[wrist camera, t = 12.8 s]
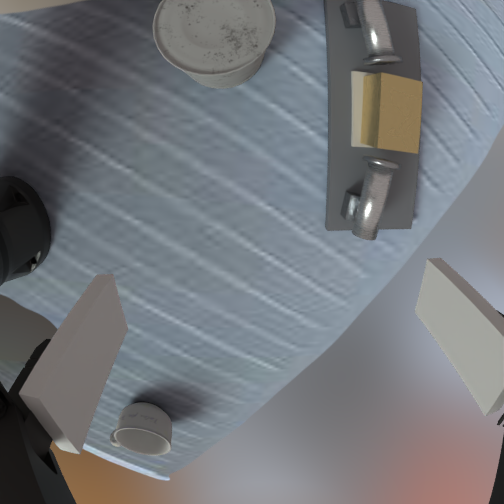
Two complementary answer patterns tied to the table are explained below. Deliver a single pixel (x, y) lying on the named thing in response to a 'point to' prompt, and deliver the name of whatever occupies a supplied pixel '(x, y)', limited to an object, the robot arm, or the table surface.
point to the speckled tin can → (215, 38)
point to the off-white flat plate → (357, 107)
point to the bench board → (340, 115)
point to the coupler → (391, 112)
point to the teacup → (143, 429)
